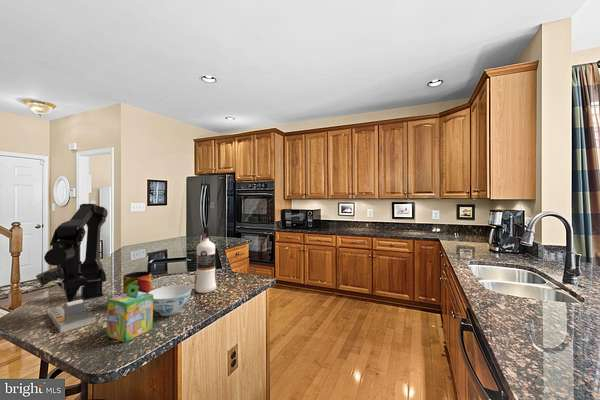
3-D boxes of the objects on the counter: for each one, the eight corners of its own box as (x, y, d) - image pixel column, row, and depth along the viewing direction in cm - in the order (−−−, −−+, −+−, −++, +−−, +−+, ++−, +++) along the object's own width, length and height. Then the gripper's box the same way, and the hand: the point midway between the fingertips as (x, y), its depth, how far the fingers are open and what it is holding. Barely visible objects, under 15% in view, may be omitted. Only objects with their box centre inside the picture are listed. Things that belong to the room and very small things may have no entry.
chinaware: (199, 305, 102) (199, 286, 102) (173, 323, 87) (173, 300, 87) (166, 302, 105) (166, 284, 105) (136, 319, 90) (136, 297, 90)
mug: (150, 295, 114) (150, 268, 114) (151, 305, 102) (151, 275, 103) (124, 299, 109) (124, 271, 109) (122, 310, 97) (122, 279, 98)
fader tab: (82, 312, 91) (82, 298, 91) (84, 314, 89) (84, 300, 89) (64, 317, 87) (64, 302, 87) (66, 319, 85) (66, 304, 85)
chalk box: (105, 337, 78) (106, 288, 78) (135, 324, 87) (135, 280, 87) (124, 343, 75) (125, 292, 75) (153, 329, 83) (154, 283, 83)
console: (79, 306, 102) (79, 295, 102) (95, 322, 88) (95, 309, 88) (47, 314, 94) (47, 302, 94) (60, 332, 81) (60, 318, 81)
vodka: (219, 287, 125) (219, 225, 125) (211, 293, 115) (211, 227, 116) (200, 286, 125) (201, 225, 126) (191, 293, 116) (191, 227, 116)
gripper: (34, 259, 92) (33, 303, 92) (43, 267, 81) (43, 317, 81) (74, 254, 101) (74, 294, 101) (88, 261, 90) (87, 305, 89)
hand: (69, 302), depth 93 cm, fingers closed
